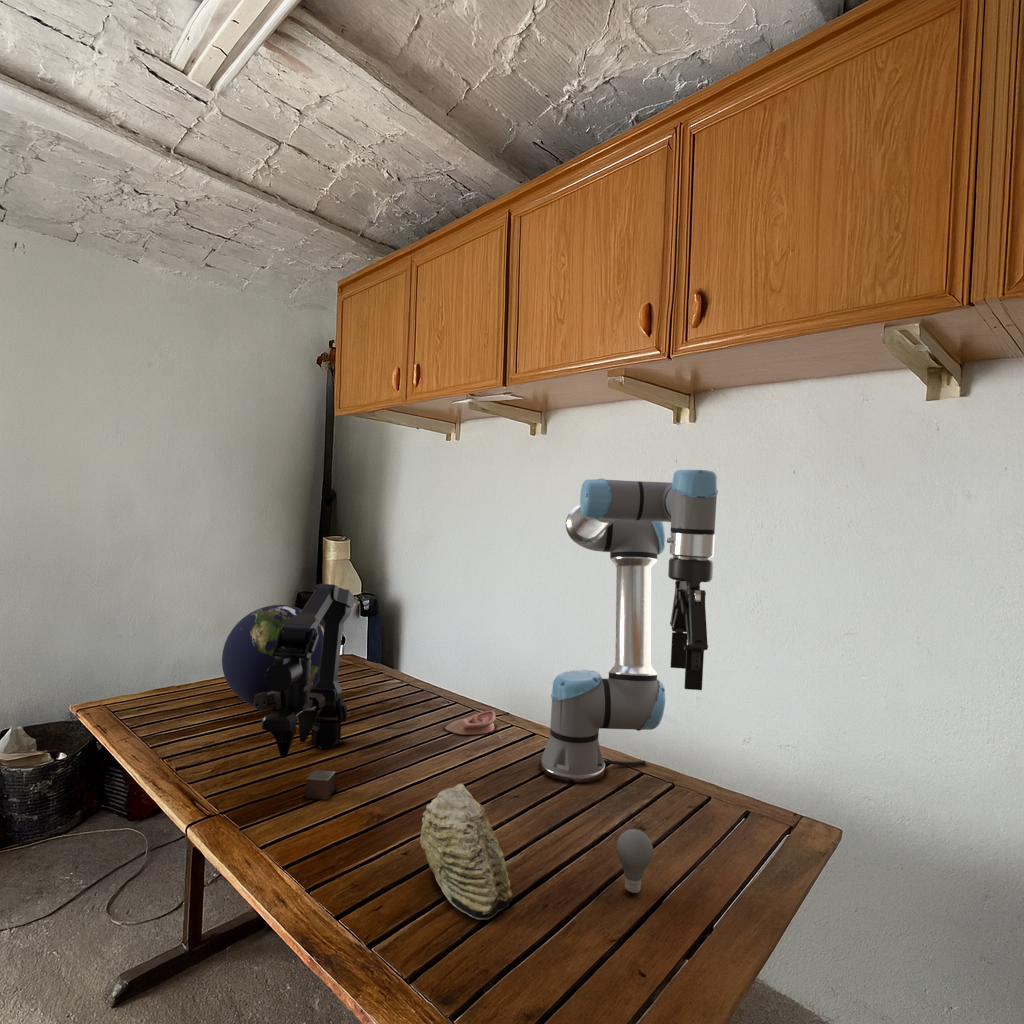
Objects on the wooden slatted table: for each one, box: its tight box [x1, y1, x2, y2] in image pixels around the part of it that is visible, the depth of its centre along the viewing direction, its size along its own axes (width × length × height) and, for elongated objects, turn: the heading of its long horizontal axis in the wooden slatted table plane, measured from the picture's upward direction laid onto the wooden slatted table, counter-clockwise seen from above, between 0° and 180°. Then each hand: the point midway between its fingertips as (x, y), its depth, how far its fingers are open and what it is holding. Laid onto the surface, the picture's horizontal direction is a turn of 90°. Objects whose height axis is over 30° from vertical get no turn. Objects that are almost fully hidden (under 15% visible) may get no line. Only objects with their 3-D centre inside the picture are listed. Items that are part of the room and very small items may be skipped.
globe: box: [221, 604, 324, 710], centre depth 188 cm, size 30×30×30 cm
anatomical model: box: [444, 710, 496, 736], centre depth 177 cm, size 13×4×12 cm
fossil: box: [419, 783, 514, 921], centre depth 104 cm, size 9×18×15 cm, turn 45°
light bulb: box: [615, 828, 654, 894], centre depth 106 cm, size 6×6×10 cm
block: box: [305, 769, 336, 801], centre depth 135 cm, size 4×5×4 cm
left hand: (293, 749), depth 140 cm, fingers open, 9 cm apart
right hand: (685, 678), depth 112 cm, fingers open, 13 cm apart
